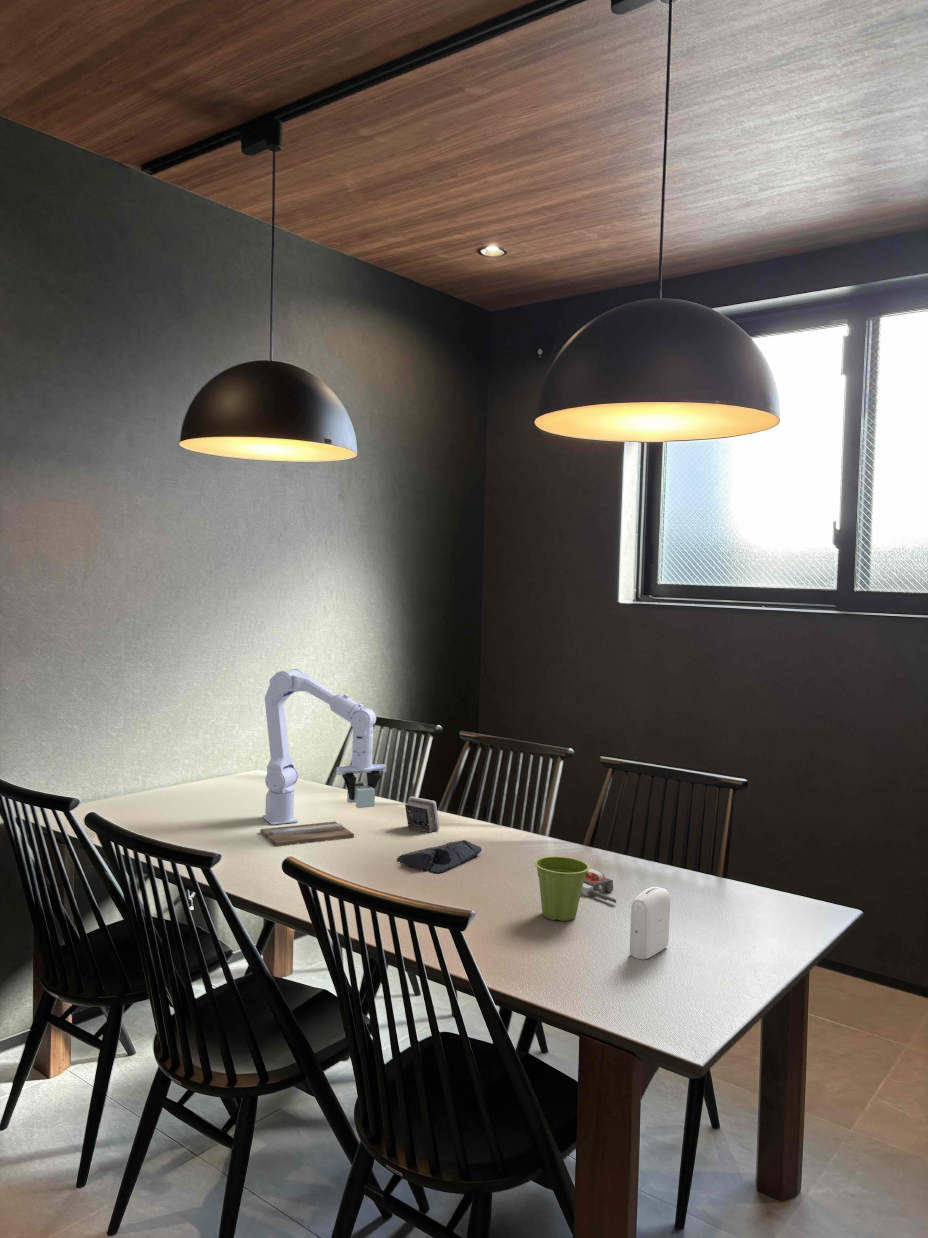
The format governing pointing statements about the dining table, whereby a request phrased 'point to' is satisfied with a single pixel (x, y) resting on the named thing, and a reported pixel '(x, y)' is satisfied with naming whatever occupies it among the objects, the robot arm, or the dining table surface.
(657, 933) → the photo printer
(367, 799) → the module
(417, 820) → the electrical switch
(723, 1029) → the dining table surface
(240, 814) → the dining table surface
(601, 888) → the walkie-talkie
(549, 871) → the plant pot
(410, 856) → the dark slate chunk
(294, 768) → the robot arm
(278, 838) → the rail board
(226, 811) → the dining table surface
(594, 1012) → the dining table surface
